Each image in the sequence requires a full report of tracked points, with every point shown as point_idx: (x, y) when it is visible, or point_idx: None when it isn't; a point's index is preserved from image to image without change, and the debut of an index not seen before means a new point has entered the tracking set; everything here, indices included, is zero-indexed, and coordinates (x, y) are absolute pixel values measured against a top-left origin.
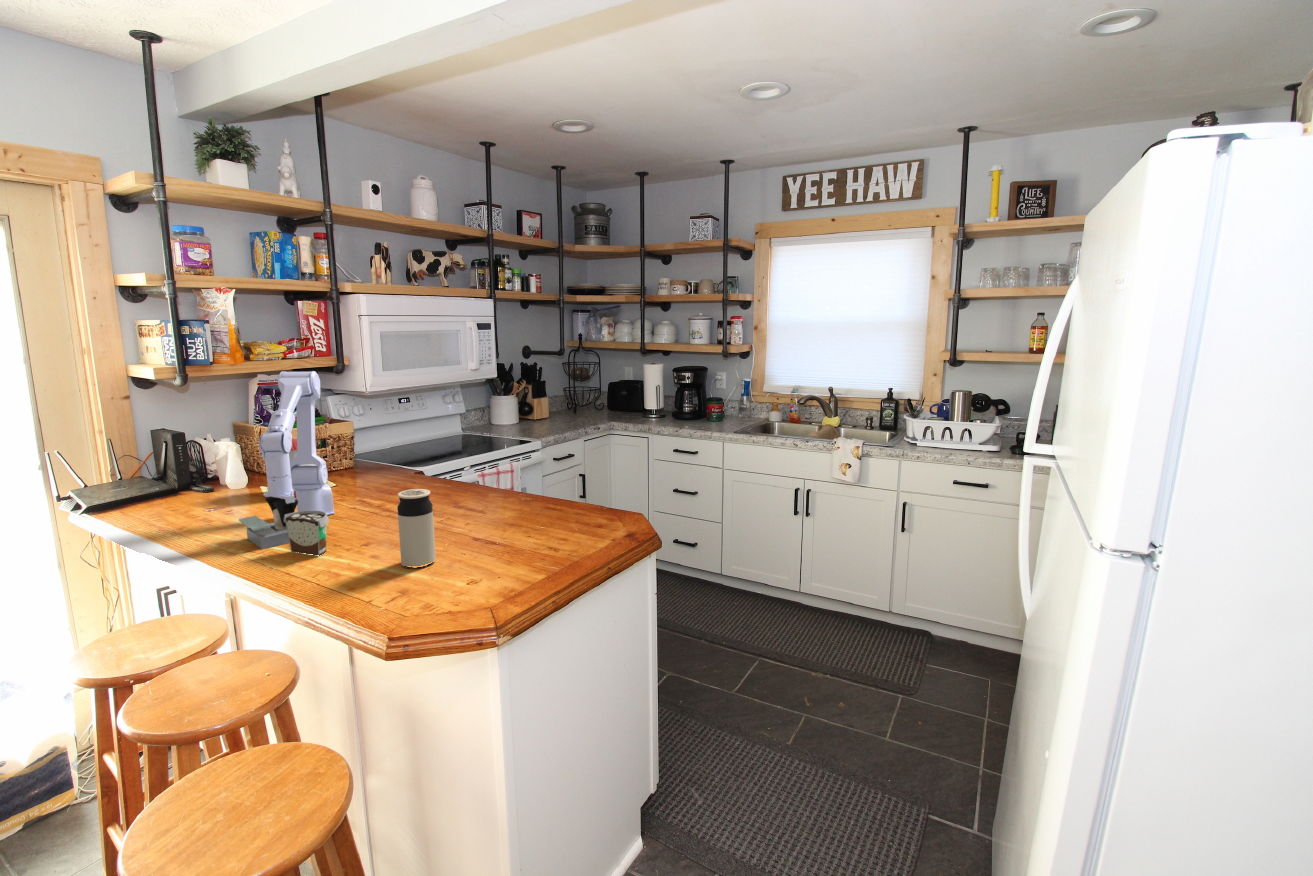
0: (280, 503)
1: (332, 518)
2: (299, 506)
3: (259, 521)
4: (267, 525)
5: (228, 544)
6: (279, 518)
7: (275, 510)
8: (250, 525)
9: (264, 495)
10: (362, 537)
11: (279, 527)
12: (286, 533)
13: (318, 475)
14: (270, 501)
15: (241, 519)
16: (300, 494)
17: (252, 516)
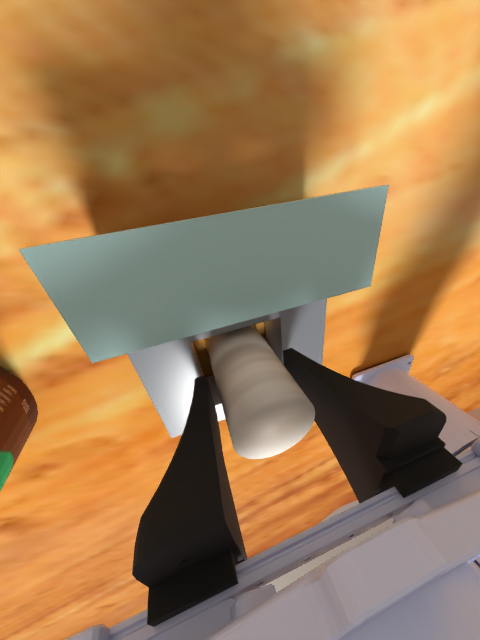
0: (137, 577)
1: (316, 425)
2: (404, 393)
3: (232, 302)
4: (87, 348)
5: (279, 125)
6: (226, 391)
7: (281, 407)
8: (151, 239)
9: (381, 556)
10: (101, 503)
11: (218, 356)
12: (140, 375)
13: (474, 567)
14: (368, 429)
15: (362, 199)
16: (440, 435)
17: (370, 270)
